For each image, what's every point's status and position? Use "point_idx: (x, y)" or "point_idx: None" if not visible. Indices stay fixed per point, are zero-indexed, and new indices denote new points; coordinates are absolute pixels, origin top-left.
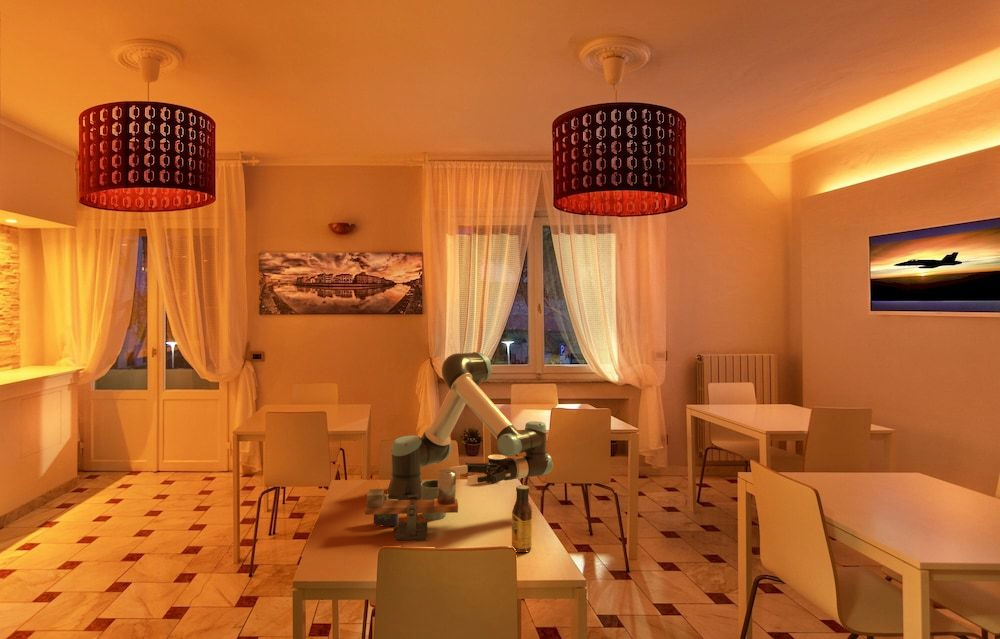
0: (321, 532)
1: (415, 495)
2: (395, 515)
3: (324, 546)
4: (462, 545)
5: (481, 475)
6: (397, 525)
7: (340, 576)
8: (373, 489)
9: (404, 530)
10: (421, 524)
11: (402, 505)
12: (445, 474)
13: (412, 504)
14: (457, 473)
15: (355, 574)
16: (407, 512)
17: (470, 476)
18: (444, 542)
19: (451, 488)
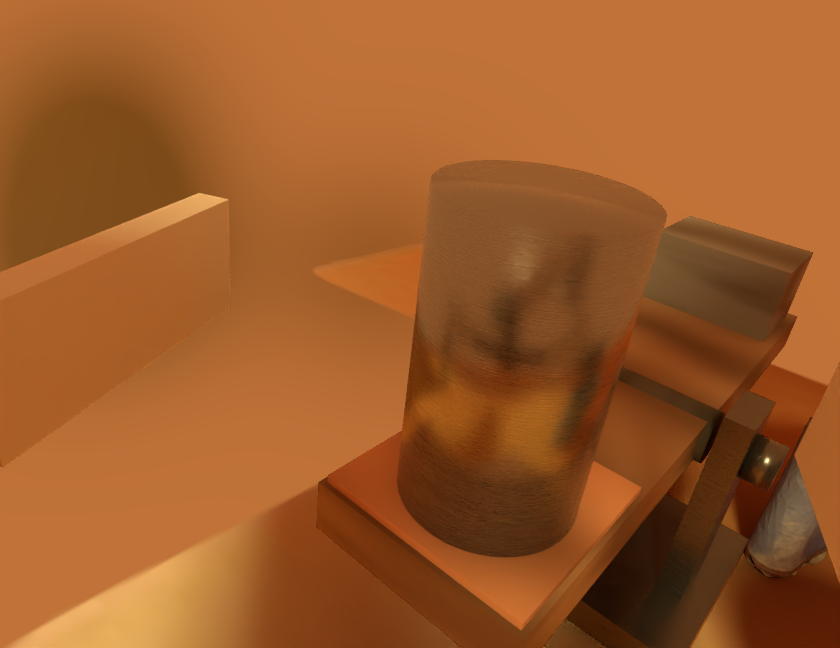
0: (790, 374)
1: (757, 423)
2: (772, 496)
3: None
4: (174, 574)
5: (24, 272)
6: (749, 557)
7: (386, 263)
8: (802, 256)
9: None
10: (635, 597)
11: None
12: (470, 165)
13: None
14: (834, 528)
15: (364, 275)
16: None
17: (179, 201)
18: (314, 547)
19: (413, 332)
